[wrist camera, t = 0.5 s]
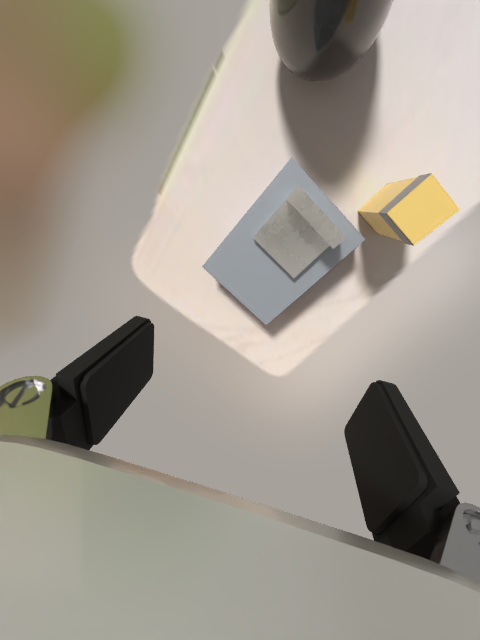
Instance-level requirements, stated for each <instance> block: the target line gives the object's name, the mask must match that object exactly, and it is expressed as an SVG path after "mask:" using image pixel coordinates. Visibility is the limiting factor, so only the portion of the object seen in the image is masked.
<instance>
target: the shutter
mask: <svg viewBox="0 0 480 640" xmlns="http://www.w3.org/2000/svg"><path fill="white" fill-rule="evenodd" d="M345 238H346V236H345V235H344V234H343V233H342V232H341V231H340V230H339V229H338V228H337V226H336V225H335V224H334V223H333V222H332V221H331V220H330V219H329V218H328V217H327V216H326V214H325V213H324V212H323V211H322V210H321V209H320V208H319V207H318V206H317V205H316V204H315V202H314V201H313V200H312V199H311V198H310V197H309V196H308V195H307V194H306V193H305V191H304V190H303V189H302V188H301V187H300V186H298V187H297V188H296V189H295V190H294V191H293V192H292V194H291V195H290V196H289V197H288V198H287V200H286V201H285V202H284V203H283V204H282V206H281V207H280V208H279V209H278V210H277V211H276V212H275V213H274V215H273V216H272V217H271V218H270V219H269V220H268V221H267V222H266V224H265V225H264V226H263V227H262V228H261V229H260V230H259V232H258V233H257V234H256V235H255V236H254V237H253V239H255V240H256V241H257V242H258V243H259V244H260V245H261V246H262V247H263V248H264V249H265V250H266V251H267V252H268V253H269V254H270V255H271V256H272V257H273V258H274V259H275V260H276V261H277V262H278V263H279V264H280V265H281V266H282V267H283V268H284V269H285V270H286V271H287V272H288V273H289V274H290V275H291V276H292V277H293V278H295V277H296V276H297V275H298V274H299V273H300V272H301V271H303V270H304V269H305V268H306V267H307V266H308V265H309V264H310V263H311V262H312V261H313V260H314V259H316V258H317V257H318V256H319V255H320V254H321V253H322V252H323V251H324V250H325V249H326V248H328V247H329V246H331V247H332V248H333V249H334V248H335V247H336V246H337V245H339V244H340V243H341V242H342V241H343V240H344V239H345Z"/></svg>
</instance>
